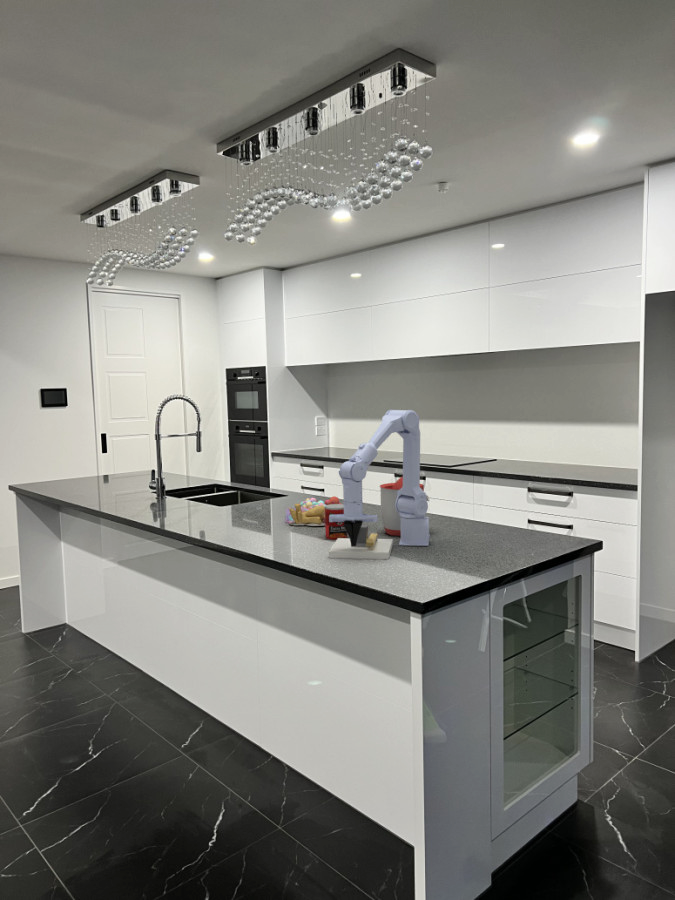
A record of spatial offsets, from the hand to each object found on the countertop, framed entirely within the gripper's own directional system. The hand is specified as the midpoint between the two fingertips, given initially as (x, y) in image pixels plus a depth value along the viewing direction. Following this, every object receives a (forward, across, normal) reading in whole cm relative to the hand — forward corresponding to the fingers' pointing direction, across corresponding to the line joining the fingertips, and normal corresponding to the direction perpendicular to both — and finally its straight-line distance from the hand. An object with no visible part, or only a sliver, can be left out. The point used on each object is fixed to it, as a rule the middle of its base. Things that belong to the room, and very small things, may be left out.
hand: (353, 545), depth 204 cm
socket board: (+3, +2, +6) cm, 8 cm away
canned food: (+4, -9, +26) cm, 27 cm away
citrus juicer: (+4, +14, +34) cm, 36 cm away
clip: (+1, +5, +7) cm, 9 cm away
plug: (+3, +2, +6) cm, 8 cm away
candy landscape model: (+4, -22, +54) cm, 58 cm away
